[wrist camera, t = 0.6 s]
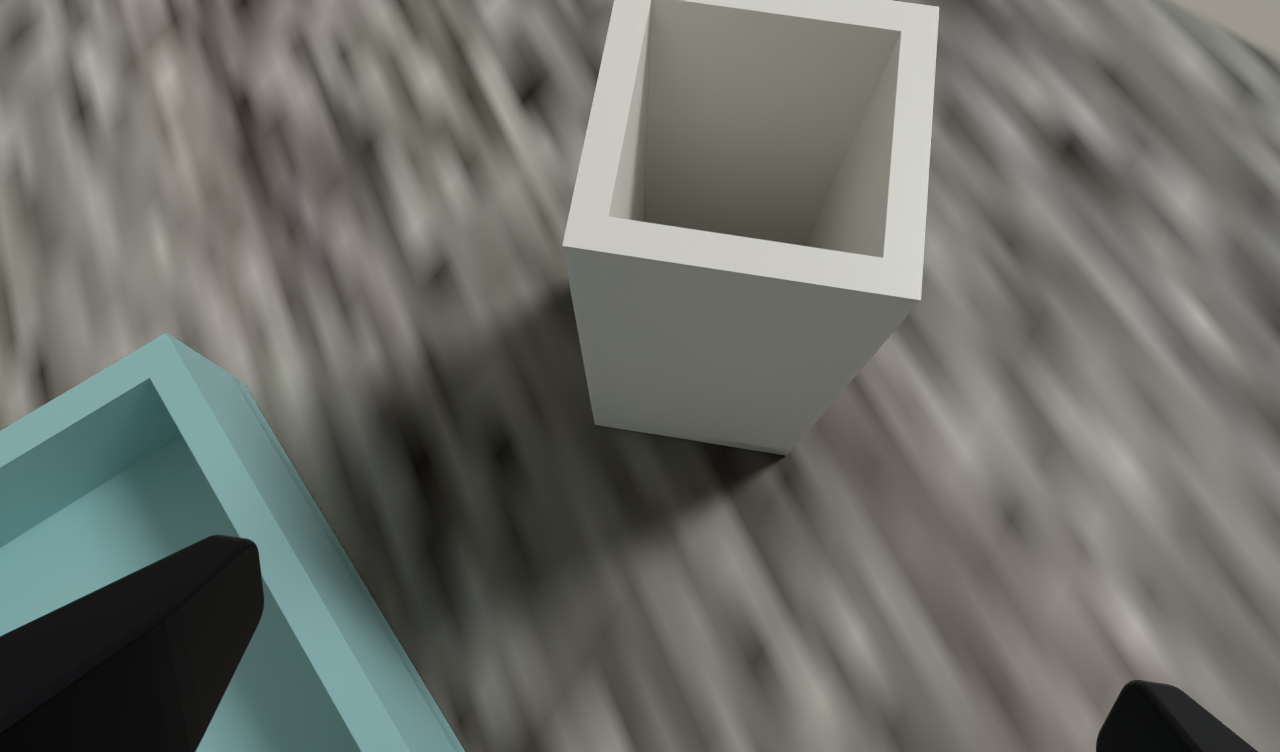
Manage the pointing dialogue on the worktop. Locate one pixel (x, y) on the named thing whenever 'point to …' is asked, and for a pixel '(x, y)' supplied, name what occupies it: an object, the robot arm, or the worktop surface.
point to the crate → (188, 512)
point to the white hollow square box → (748, 210)
